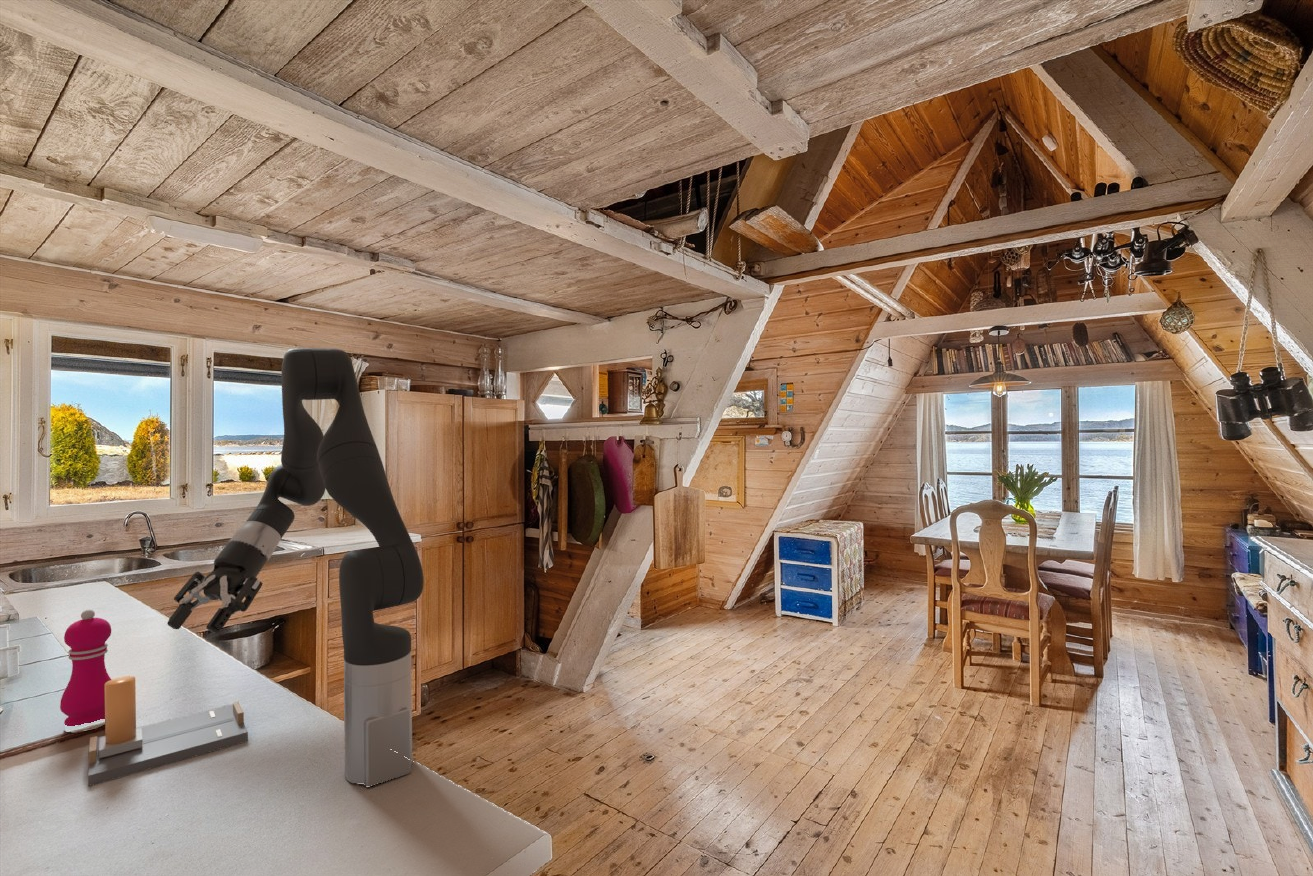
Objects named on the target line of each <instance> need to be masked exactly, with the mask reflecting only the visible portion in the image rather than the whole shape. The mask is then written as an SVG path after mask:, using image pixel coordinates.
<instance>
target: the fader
mask: <svg viewBox="0 0 1313 876" xmlns="http://www.w3.org/2000/svg"><path fill="white" fill-rule="evenodd" d="M136 687H137V686H136V677H135V676H130V675H129V676H121V677H117V678H114V679H111V680H110V681H108V682H106V683H105V726H104V728H105V730H104V733H105V735H104V736H105V737H102V736H101V737H102V738H100V740H99V758H103V757H107V756H110V755H114V754H118V753H122V752H126V751H129V750H133V749H137V748H141V747H143V739H142V729H141V728H138V727H137V700H136V693H137V691H136ZM136 728H138V729H136Z"/></svg>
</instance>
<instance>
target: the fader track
mask: <svg viewBox="0 0 1313 876" xmlns="http://www.w3.org/2000/svg"><path fill="white" fill-rule="evenodd" d="M244 713H245V712H244V710H243V708H242V705H241V704H240V702H239V701H235V702H232V704H228V705H225V706H220V707H217V708H212V709H207V710H204V711H200V712H196V713H192V714H187V715H184V716H180V717H175V718H172V719H167V720H163V721H158V722H156V723H152V724H151V723H150V724H147V725H143V726H140V727H136V729H138V728H141V729H142V739H143V747H141V748H137V749H133V750H129V751H126V752H122V753H118V754H114V755H110V756H107V757H103V758H99V740H100V738H102V737H105V735H103V736H99V737H98V736H97V735H95V736H91V737H90V738H89V748H88V775H87V776H88V779H87V781H88V784H87V785H88V787H89V786H90V787H91V786H93V785H98V784H101V783H104V782H109V781H113V780H115V779H118V778H123V777H126V776H129V775H133V774H136V773H140V772H144V771H147V770H150V769H154V768H157V767H160V766H165V765H168V764H172V763H175V762H179V761H182V760H186V759H189V758H190V759H191V758H193V757H196V756H195V755H197V756H200V755H203V754H202V753H204V754H207V753H210V752H209V751H211V752H213V751H214V750H215V751H217V749H218V750H220V748H222V749H225V748H228V747H227V746H229V747H232V746H236V745H239V744H242V743H241V742H243V743H246V742H248V741H249V732H248V729H247V726H246V725H245V722H244V721H245V719H244V718H245V717H244V716H245V715H244ZM238 743H239V744H238ZM235 744H236V745H235ZM224 747H225V748H224ZM206 752H207V753H206Z"/></svg>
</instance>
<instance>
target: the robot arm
mask: <svg viewBox="0 0 1313 876" xmlns="http://www.w3.org/2000/svg"><path fill="white" fill-rule="evenodd" d="M303 400H305V401H311V400H312V401H313V400H314V401H319V400H323V401H324V400H335V401H336V402H337V404H338V409H337V412H336V413H335V417H334V418H333V420H332V422H331V424H330V425H329V427H328V429H326V431H325V433H324V432H323V431H322V429H321V427H320V425H319V424H318V422H316V420H315V419H314V418H313V417H312V416H311V415H310V414H309V412H308V411H307V410H306V408H305V407H304V403H303ZM362 401H363V400H362V397H361V393H360V389H359V384H358V381H357V376H356V372H355V367H354V365H353V363H352V359H351V357H350V356H349V354H348V353H347V352H346V351H344V350H342V349H340V348H330V347H329V348H328V347H325V348H323V347H322V348H320V347H295V348H290V349H288V350H287V351H286V352H285V353H284V355H283V359H282V364H281V405H282V418H283V443H282V448H281V455H280V462H281V464H279V465H277V466H276V467H274V468H273V470H272V471H271V472H270V474H269V477H268V479H267V483H266V486H265V489H264V492H263V494H262V497H261V498H260V501H259V503H258V504H257V506H256V508H255V509H254V510H253V512H251V514H250V515H249V517H248V518H247V519H246V521H245V522H243V524H242V525H241V526H240V527H239V528H238V530H236V532H235V533H234V534H233V535H232V536H231V538H230V539H229V540H228V542H227V543H226V544H225V546H224V547H223V549H222V550H221V551H220V552H219V553H218V555H217V556H216V558H215V559H214V561H213V565H214V567H213V570H212V571H211V572H210V573H208V574H203V573H201V572H200V571H196V572H194V573H193V574H192V575H191V577H190V578H189V579H188V580H187V582H186V583H185V584H184V585H183V586H182V588H181V589H180V590H179V591H178V593H177V594H176V595H175V596H174V597H173V600H174V601H175V602H177V603H178V607H177V608H176V610H175V611H173V613H172V614H171V615H170V618H169V619H168V621H167V622H166V623H167V624H166V625H167V626H168V627H170V628H171V629H173V630H179V629H180V628H181V627H182V626H183V625H184V623H185V622H186V620H187V619H188V618H189V617H190V615H191V614H192V612H193V610H195V609H196V608H197V607H199V606H201V605H205V604H208V603H209V602H210V601H218V600H219V601H221V607H220V608H218V609H217V611H216V612H215V613H214V615H213V616H212V617H211V619H210V621H209V622H208V623H207V624H206V630H208V631H209V632H210V633H212V634H218V633H219V632H220V631H221V630H222V629H223V628H224V626H225V625H226V624H227V623H228V621H229V619H230V618H231V617H232V616H233V615H235V614H236V613H238V612H242V613H244V612H247V610H248V609H249V607H250V606H251V604H252V602H253V601H254V599H255V597H256V596H257V594H258V593H259V591H260V589H261V588H262V586H263V582H262V581H261V580H260V579H259V578H258V575H259V574H260V572H261V571H262V569H263V568H264V567H265V565H266V564H267V562H268V561H269V559H270V558H271V557H272V555H273V554H274V552H275V551H276V549H277V547H278V545H279V544H280V541H281V539H282V538H283V537H284V536H285V534H286V532H287V531H288V530H289V528H290V527H291V525H292V524H293V522H294V520H295V517H296V516H295V513H294V511H293V510H292V508H291V507H289V506H288V505H287V504H285V503H284V502H283V501H281V500H279V498H282V499H285V500H288V501H290V502H293V503H295V504H298V505H300V506H305V507H309V506H313V505H315V504H317V503H319V502H320V500H322V498H323V496H324V495H325V492H326V493H327V494H328V495H329V496H330V498H331V499H332V500H333V501H335V502H336V504H338V505H339V506H340V507H341V508H342V509H343V510H345V511H346V512H347V513H349V514H350V515H351V516H352V517H354V518H355V519H356V520H358V521H359V523H361V524H362V525H364V527H366V528H367V529H368V530H369V532H370V533H371V535H372V536H373V537H374V539H375V541H376V542H377V545H378V546H375V547H368V548H367V547H366V548H360V549H354V550H350V551H348V552H346V553H345V554H344V556H343V557H342V559H341V562H340V565H339V570H338V571H339V572H338V573H339V575H338V584H339V588H338V589H339V600H340V613H341V614H340V615H341V616H340V617H341V636H342V637H341V638H342V643H343V644H342V645H343V693H344V694H343V704H344V705H343V707H344V708H343V709H344V711H343V712H344V713H343V714H344V715H343V716H344V717H343V719H344V725H343V726H344V731H343V732H344V777H345V779H346V781H347V782H349V783H352V784H354V783H364V784H365V785H366V786H371V785H374V784H377V783H381V784H384V783H386V782H389V781H391V779H392V780H394V778H395V779H397V778H400V777H402V776H405V775H408V774H410V773H412V771H411V770H412V763H413V721H412V720H413V716H412V715H413V712H412V711H413V708H412V707H413V705H412V704H413V703H412V701H413V700H412V699H413V696H412V694H413V693H412V692H413V691H412V636H411V632H410V631H409V630H408V629H406V628H404V627H400V626H397V625H396V626H394V625H389V624H387V625H386V624H380V623H377V622H375V618H374V611H379V610H384V609H388V608H389V609H390V608H393V607H399V606H403V605H407V604H410V603H413V602H415V601H417V600H418V599H419V598H420V597H421V595H422V593H423V589H424V583H425V582H424V580H425V579H424V572H423V567H422V564H421V559H420V556H419V553H418V552H417V549H416V547H415V544H414V542H413V540H412V538H411V536H410V534H409V532H408V530H407V527H406V525H405V523H404V520H403V518H402V517H401V514H400V512H399V510H398V507H397V505H396V502H395V499H394V496H393V493H392V489H391V488H390V484H389V480H388V477H387V475H386V471H385V468H384V467H385V466H384V464H383V461H382V458H381V454H380V451H379V449H378V446H377V444H376V441H375V438H374V436H373V434H372V431H371V427H370V426H369V422H368V419H367V416H366V413H365V409H364V407H363V402H362ZM202 591H203V593H202ZM187 593H188V594H187ZM186 594H187V595H186ZM185 595H186V596H185ZM244 598H245V599H244ZM194 599H196V600H194ZM193 600H194V601H193ZM243 600H244V601H243ZM390 749H392V750H390ZM394 751H396V752H398V753H396V752H394ZM404 756H405V757H407V758H408V759H410V760H408V759H407V758H405V757H404ZM411 760H412V761H411ZM388 780H389V781H388ZM385 781H386V782H385ZM383 782H384V783H383Z"/></svg>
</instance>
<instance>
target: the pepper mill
mask: <svg viewBox="0 0 1313 876" xmlns="http://www.w3.org/2000/svg"><path fill="white" fill-rule="evenodd" d="M80 618H81V619H79V620H77V621H74V622H73V623H72V624H70V625H69V626H68V627H67V628H66V630H65V632H64V635H63V636H64V637H63V640H64V641H63V642H64V643H65V645H66V646H68V647H69V648H70V649H69V650H68V654H69V656H68V657H67V658H68V659H69V660H71V665H72V666H71V674H70V678H69V681H68V683H67V685H66V688H65V689H64V690H63V693H62V695H61V698H60V704H59V709H60V712H62V713H63V714H64V715H65V716H67V717H65V719H64V721H63V722H64V723H63V725H64V724H65V725H67V726H75V725H81V724H84V723H91V722H94V721H97V720H100V719H105V683H106V682H108V681H110V680H112V678H111V677H110V675H109V673H108V672H107V671H108V670H107V668H106V663H105V655H106V654H107V653H108V651H109V649H108V646H109V644H108V643H106V641H108V639H109V638H110V637H111V634H112V627H111V624H110V622H109V621H107V620H106V619H103V618H100V617H95V611H94V610H92V609H85V610H83V611H82V613H81V614H80Z"/></svg>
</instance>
